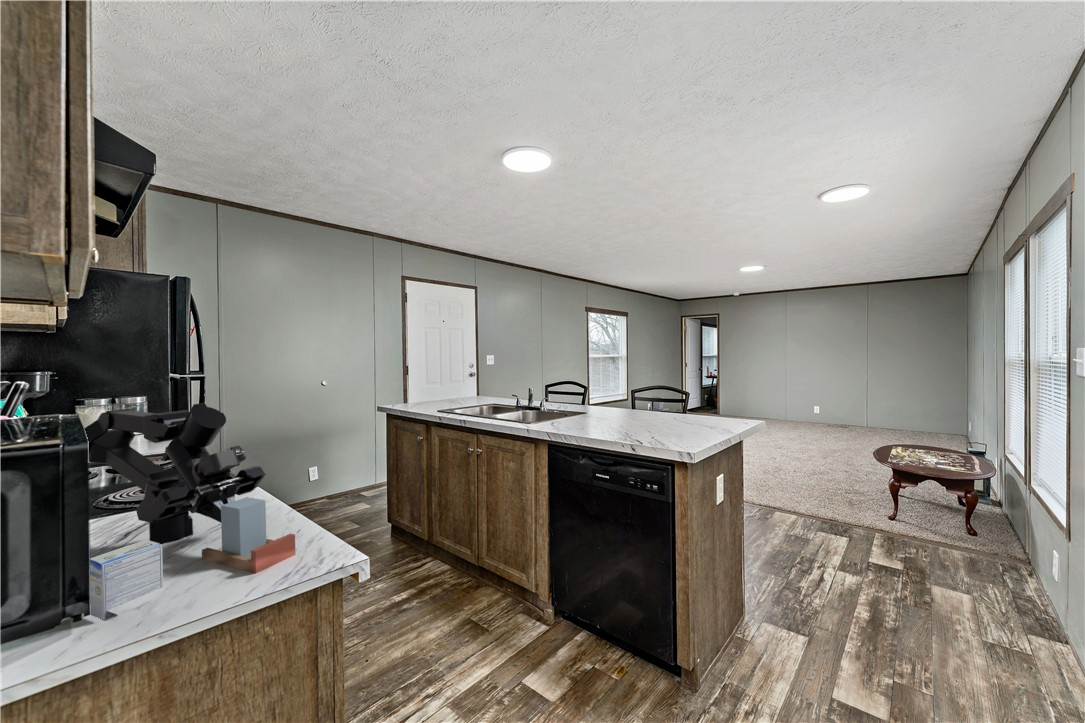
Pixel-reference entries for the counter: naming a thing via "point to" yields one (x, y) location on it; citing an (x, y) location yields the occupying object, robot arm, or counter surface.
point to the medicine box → (124, 576)
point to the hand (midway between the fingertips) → (234, 525)
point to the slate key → (243, 526)
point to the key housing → (255, 555)
